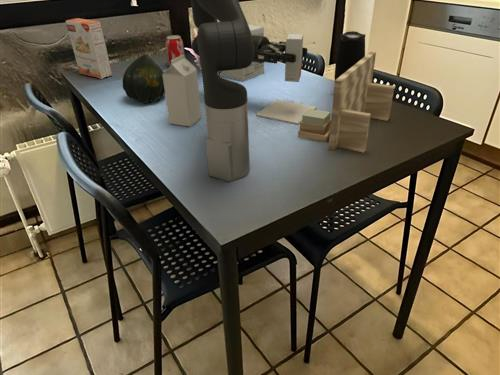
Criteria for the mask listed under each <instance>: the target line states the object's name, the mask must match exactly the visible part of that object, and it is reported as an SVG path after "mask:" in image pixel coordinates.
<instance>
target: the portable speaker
mask: <svg viewBox="0 0 500 375" xmlns="http://www.w3.org/2000/svg"><path fill="white" fill-rule="evenodd" d="M336 48H337V50H336V53H335V54H336V55H335V65H334V66H335V67H334V81H335V80H336V79H337V78H339V77H340V76H341V75H342V74H344V73H345V72H346V71H347V70H349V69H350V68H351V67H352V66H354V65H355V64H356V63H357V62H359V61H360V60H361V59H362V58H364V57H365V56H366V34H363V33H360V32H358V31H354V30H351V31H346V32H344V33H342V34H340V35H339V40H338V44H337V47H336Z"/></svg>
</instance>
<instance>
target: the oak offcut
mask: <svg viewBox="0 0 500 375" xmlns="http://www.w3.org/2000/svg"><path fill="white" fill-rule="evenodd" d="M330 128H331V118H330V119H329V120H328V122H327V123H326V124H325V125H324V126H321V125H315V124H309V123H303V122H302V121H301V122H300V123H299V130H300V131H303V132H308V133H314V134H319V135H325V134H326V133H327V132H328V131H329V129H330Z"/></svg>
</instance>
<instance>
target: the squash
mask: <svg viewBox="0 0 500 375" xmlns="http://www.w3.org/2000/svg"><path fill="white" fill-rule="evenodd" d="M164 72H165V71H163V69H162V68H161V67H160V66H159V64H157V63H156V61H154V60H153V59H152V58H151V57H150V56H149V55H148V54H143V55H141V56H139V57H138V58H137V59H135V60H133V61H132V62H131V63H130V65H128V67H127V68H126V69H125V71H124V74H123V77H122V89H123V90H124V92H125V94H126V96H127V97H129V99H134V100H139V101H140V102H141V103H142V104H147V103H148V102H149V101H150V102H156V100H158V99H159V98H161V97H163V96H164V95H165V89H164V82H163V75H162V74H163V73H164Z"/></svg>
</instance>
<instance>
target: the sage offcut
mask: <svg viewBox="0 0 500 375" xmlns="http://www.w3.org/2000/svg"><path fill="white" fill-rule="evenodd" d="M329 119H331V111H326V110H325V111H324V110H320V109H319V110H318V109H315V110H314V109H308V110H307V111H306V112H305V113H304V114H303V115H302V122H303V123H309V124H315V125H321V126H324V125H325V124H326V123H327V122H328V120H329Z"/></svg>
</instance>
